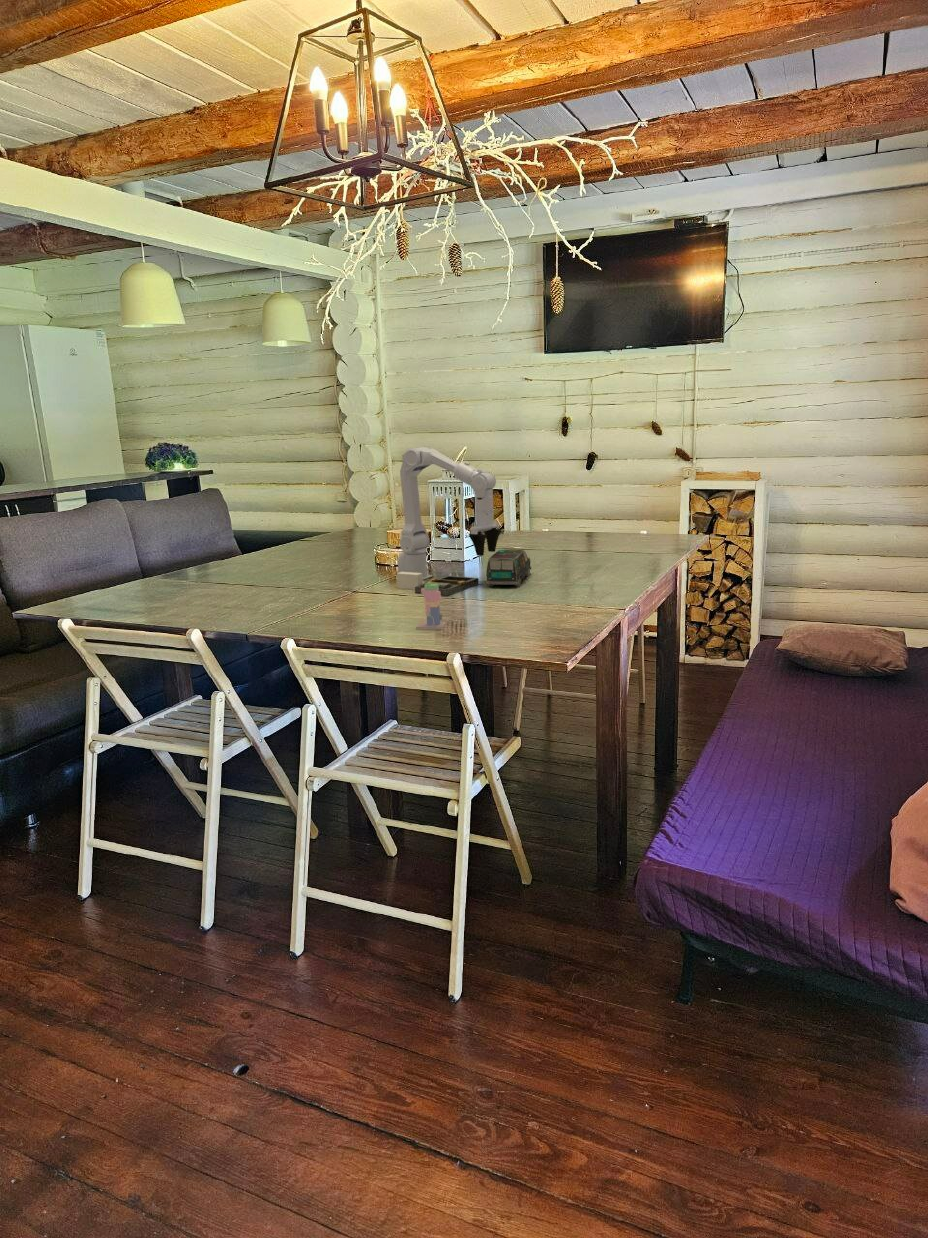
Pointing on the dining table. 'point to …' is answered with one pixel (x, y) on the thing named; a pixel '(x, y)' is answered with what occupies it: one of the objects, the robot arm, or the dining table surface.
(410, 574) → the tall cream block
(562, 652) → the dining table surface
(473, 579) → the rack
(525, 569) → the toy van
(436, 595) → the figurine
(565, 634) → the dining table surface
